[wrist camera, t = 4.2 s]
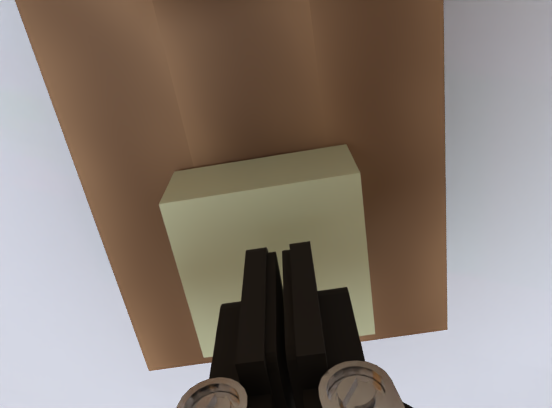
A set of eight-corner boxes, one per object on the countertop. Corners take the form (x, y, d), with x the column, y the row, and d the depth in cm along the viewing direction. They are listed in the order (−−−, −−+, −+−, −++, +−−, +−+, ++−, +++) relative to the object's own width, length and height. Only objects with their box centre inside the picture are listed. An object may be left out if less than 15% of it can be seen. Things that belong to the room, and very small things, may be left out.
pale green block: (329, 109, 19) (360, 172, 13) (343, 230, 22) (375, 333, 15) (193, 131, 20) (158, 204, 13) (221, 248, 22) (203, 357, 16)
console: (374, -349, 15) (436, -535, 10) (406, 251, 24) (447, 329, 19) (6, -272, 16) (-132, -405, 10) (174, 285, 25) (148, 370, 19)
